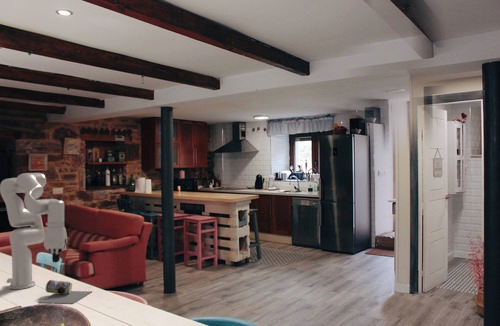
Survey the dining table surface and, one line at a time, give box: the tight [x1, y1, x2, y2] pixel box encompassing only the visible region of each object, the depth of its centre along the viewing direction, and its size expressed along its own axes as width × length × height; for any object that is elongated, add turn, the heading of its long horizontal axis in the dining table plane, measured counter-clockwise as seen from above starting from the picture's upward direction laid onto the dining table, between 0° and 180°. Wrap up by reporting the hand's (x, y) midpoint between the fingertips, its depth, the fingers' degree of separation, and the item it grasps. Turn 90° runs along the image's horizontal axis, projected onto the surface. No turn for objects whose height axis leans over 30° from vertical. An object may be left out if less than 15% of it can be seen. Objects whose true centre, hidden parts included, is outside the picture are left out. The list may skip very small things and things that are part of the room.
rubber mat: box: [37, 290, 93, 305], centre depth 206 cm, size 18×18×1 cm
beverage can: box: [45, 279, 73, 294], centre depth 211 cm, size 6×7×12 cm
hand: (56, 261), depth 207 cm, fingers closed
